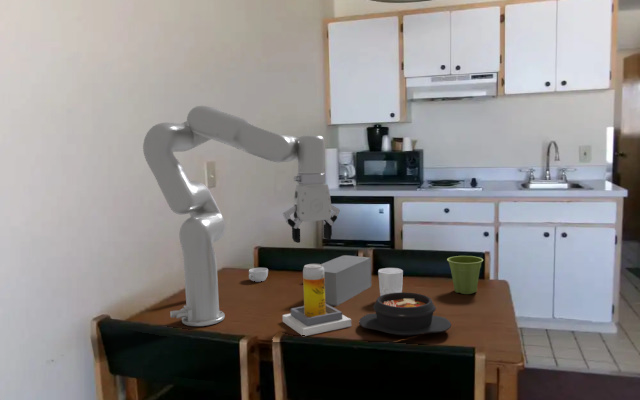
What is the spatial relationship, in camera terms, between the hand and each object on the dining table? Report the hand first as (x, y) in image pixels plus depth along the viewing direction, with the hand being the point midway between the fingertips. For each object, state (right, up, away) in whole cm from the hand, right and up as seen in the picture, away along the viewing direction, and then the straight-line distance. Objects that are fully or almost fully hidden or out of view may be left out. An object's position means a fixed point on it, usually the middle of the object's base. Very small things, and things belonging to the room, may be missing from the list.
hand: (312, 240), depth 146 cm
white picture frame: (+1, -24, +2) cm, 24 cm away
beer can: (+1, -22, +2) cm, 23 cm away
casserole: (+25, -24, -4) cm, 35 cm away
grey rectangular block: (+4, -21, +36) cm, 42 cm away
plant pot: (+52, -20, +30) cm, 63 cm away
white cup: (+25, -22, +23) cm, 40 cm away
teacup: (-21, -20, +53) cm, 60 cm away
